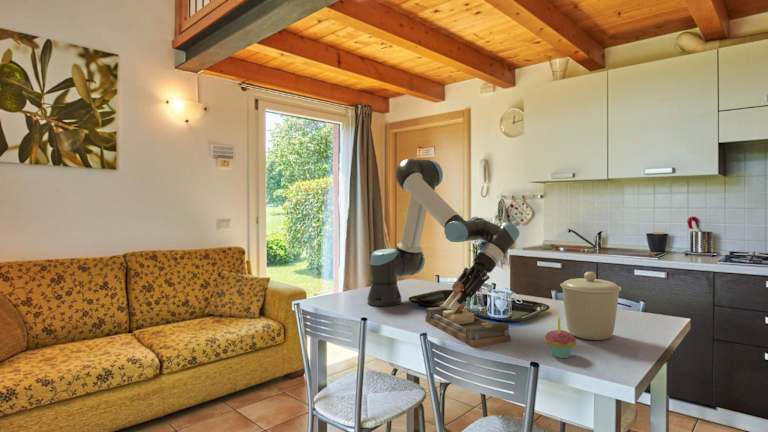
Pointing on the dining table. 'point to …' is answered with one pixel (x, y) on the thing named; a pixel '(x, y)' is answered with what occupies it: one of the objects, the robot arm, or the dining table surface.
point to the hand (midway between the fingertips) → (448, 308)
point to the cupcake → (560, 342)
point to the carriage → (458, 309)
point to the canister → (590, 306)
